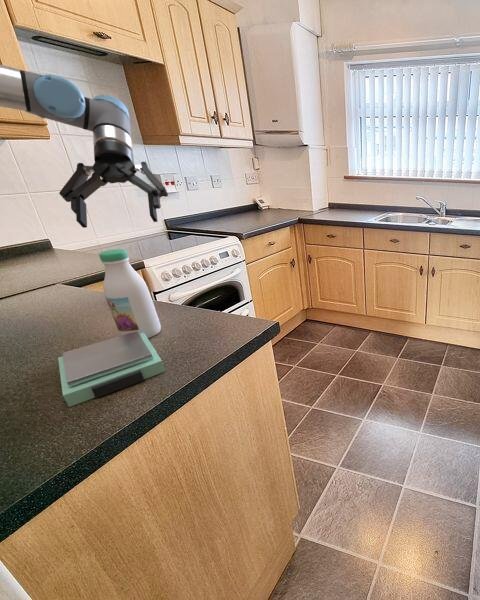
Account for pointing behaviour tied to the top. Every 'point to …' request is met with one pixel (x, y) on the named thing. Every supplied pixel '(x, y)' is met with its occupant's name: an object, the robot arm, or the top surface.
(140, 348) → the scale pan
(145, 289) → the milk bottle
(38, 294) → the top surface
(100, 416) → the top surface
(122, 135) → the robot arm
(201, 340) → the top surface
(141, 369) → the scale
